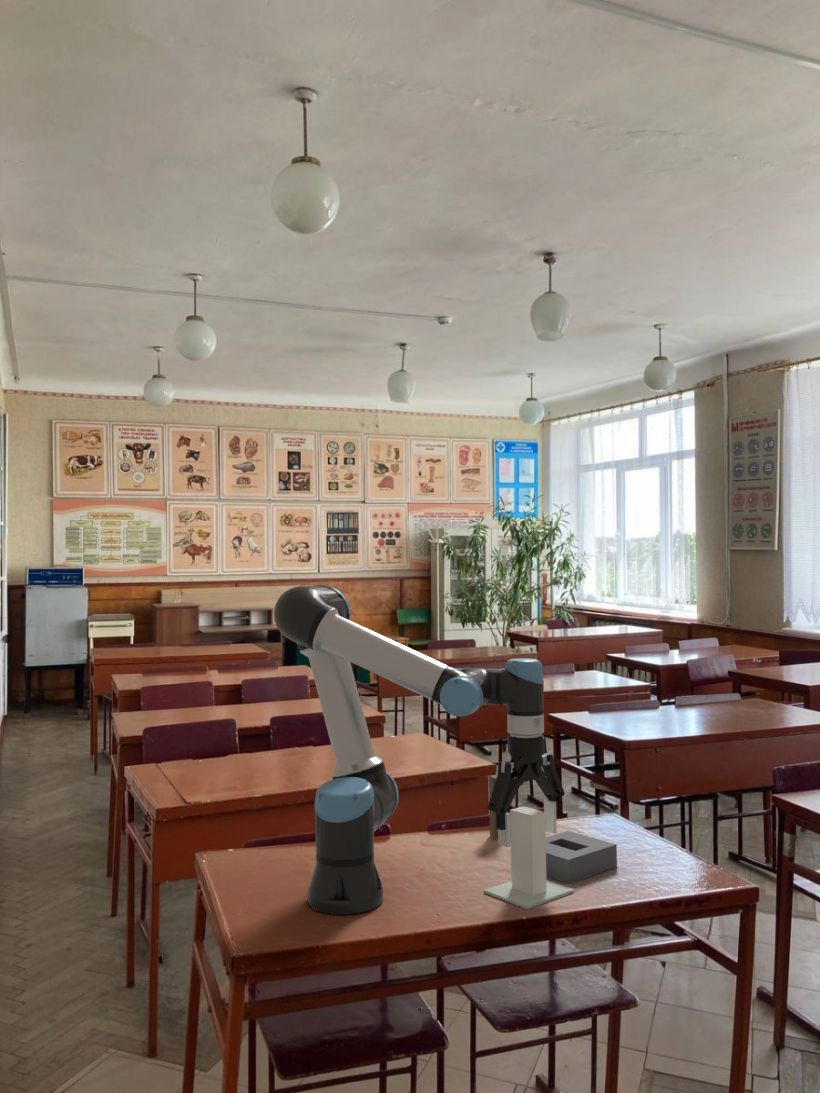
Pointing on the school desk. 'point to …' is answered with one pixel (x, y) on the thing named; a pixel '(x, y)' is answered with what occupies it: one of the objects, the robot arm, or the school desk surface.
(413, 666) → the robot arm
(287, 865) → the school desk surface
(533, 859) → the plug
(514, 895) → the mat
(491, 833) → the wooden block
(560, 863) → the socket block
